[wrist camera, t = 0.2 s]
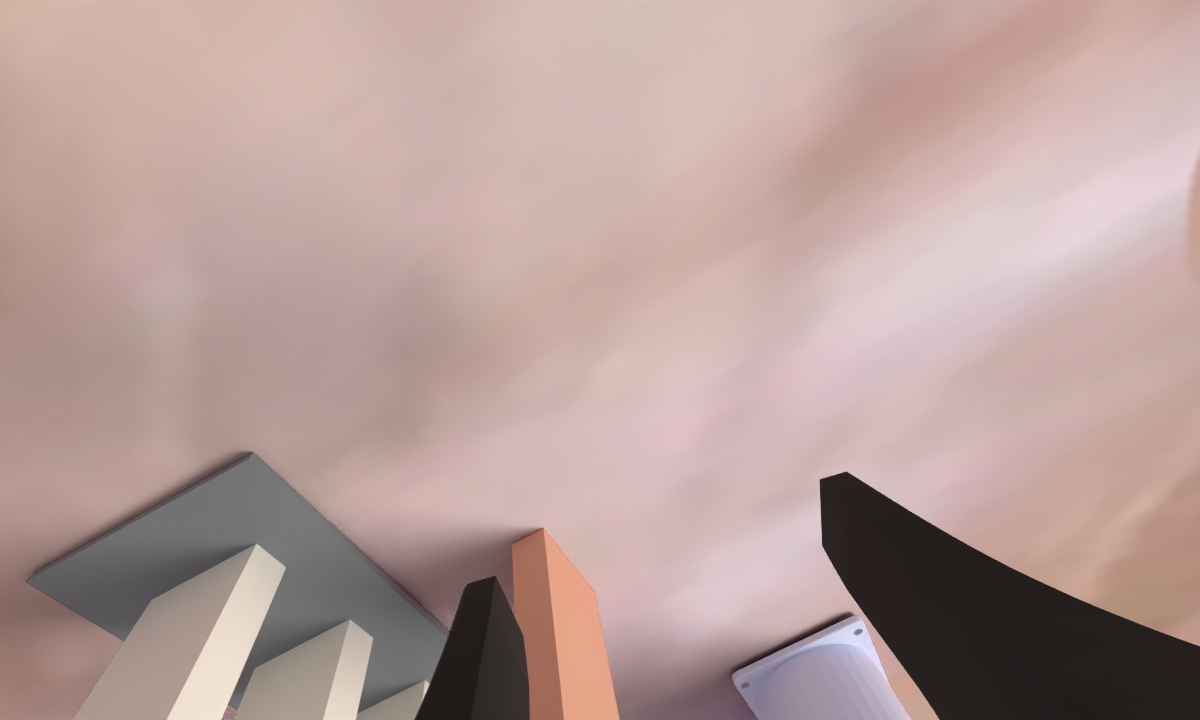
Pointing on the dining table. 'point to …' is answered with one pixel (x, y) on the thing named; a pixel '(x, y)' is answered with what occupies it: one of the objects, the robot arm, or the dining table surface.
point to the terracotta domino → (560, 635)
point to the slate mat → (304, 595)
